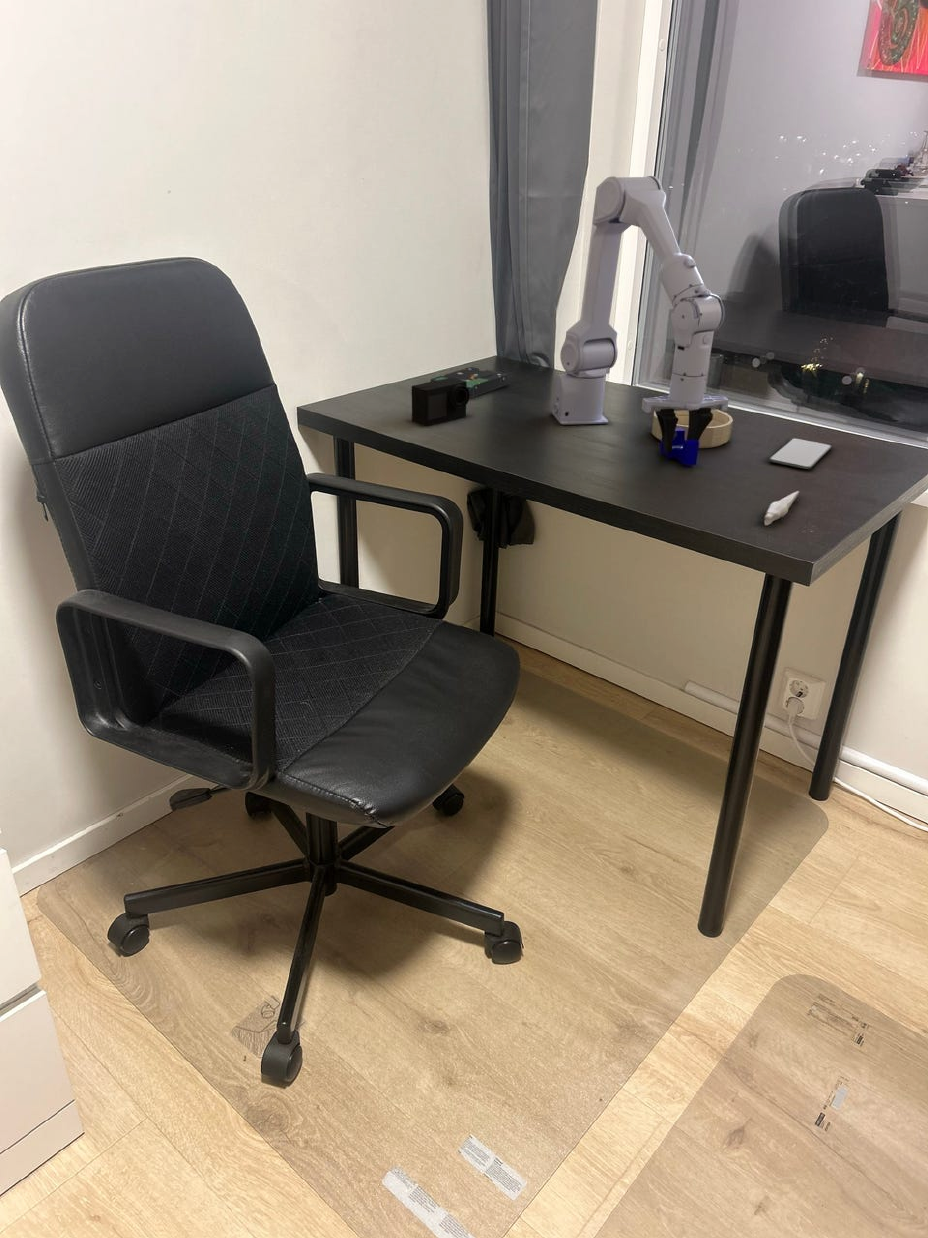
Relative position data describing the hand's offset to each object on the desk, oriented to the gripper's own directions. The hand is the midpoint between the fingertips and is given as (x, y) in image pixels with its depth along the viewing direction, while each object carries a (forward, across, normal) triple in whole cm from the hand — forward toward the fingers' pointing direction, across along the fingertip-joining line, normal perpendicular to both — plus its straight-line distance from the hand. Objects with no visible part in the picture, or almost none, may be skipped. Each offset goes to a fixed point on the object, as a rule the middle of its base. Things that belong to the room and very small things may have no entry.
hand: (678, 451), depth 152 cm
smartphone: (+2, +23, 0) cm, 23 cm away
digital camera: (+2, -38, +27) cm, 47 cm away
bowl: (+2, +7, +12) cm, 14 cm away
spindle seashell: (+2, +8, -24) cm, 25 cm away
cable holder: (+1, 0, 0) cm, 1 cm away
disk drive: (+2, -29, +49) cm, 57 cm away
